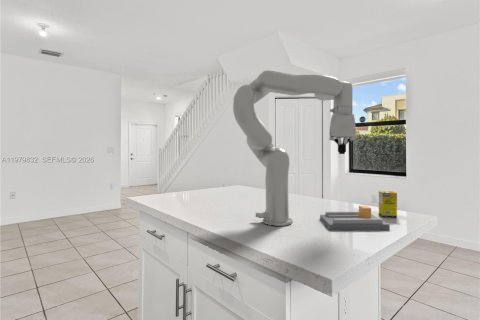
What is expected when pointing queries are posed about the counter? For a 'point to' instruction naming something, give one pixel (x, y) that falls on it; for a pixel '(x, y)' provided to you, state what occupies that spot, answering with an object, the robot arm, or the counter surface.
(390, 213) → the supplement box
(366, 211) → the block
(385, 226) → the breaker panel
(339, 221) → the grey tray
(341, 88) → the robot arm
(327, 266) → the counter surface
